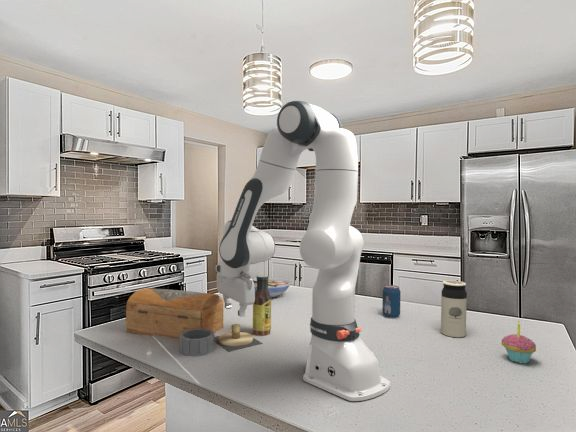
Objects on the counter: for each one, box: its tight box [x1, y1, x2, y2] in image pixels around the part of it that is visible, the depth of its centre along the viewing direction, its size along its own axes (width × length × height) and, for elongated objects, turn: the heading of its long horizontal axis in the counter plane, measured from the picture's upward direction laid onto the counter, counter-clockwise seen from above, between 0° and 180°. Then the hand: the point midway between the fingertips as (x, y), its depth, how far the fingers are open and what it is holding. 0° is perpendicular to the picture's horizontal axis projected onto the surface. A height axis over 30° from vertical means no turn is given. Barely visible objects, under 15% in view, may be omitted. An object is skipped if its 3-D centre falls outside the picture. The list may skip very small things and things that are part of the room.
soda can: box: [381, 284, 401, 319], centre depth 150 cm, size 7×7×12 cm
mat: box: [214, 330, 264, 353], centre depth 120 cm, size 14×12×1 cm
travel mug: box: [440, 280, 468, 339], centre depth 129 cm, size 8×8×18 cm
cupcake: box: [500, 320, 537, 364], centre depth 107 cm, size 9×8×12 cm
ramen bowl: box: [251, 276, 292, 299], centre depth 181 cm, size 25×23×8 cm
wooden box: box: [125, 287, 225, 339], centre depth 131 cm, size 30×16×14 cm, turn 71°
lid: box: [218, 323, 254, 347], centre depth 120 cm, size 11×11×5 cm
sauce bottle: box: [252, 274, 272, 337], centre depth 128 cm, size 6×6×20 cm
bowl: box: [178, 329, 215, 357], centre depth 112 cm, size 10×10×5 cm
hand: (234, 312), depth 120 cm, fingers open, 8 cm apart
